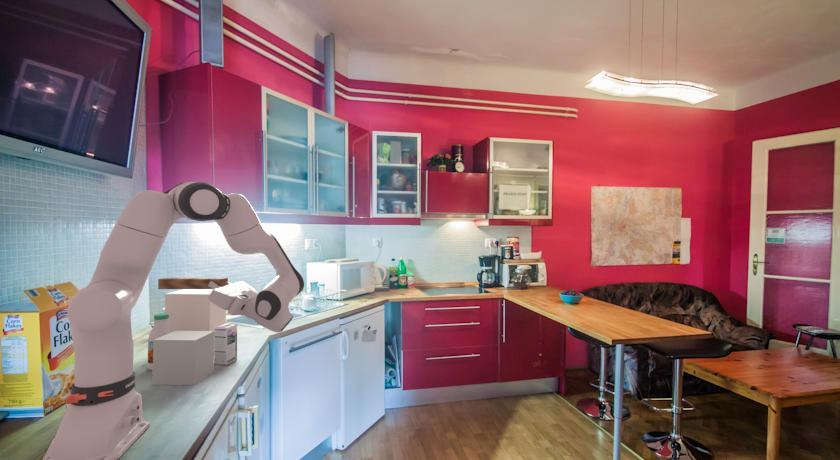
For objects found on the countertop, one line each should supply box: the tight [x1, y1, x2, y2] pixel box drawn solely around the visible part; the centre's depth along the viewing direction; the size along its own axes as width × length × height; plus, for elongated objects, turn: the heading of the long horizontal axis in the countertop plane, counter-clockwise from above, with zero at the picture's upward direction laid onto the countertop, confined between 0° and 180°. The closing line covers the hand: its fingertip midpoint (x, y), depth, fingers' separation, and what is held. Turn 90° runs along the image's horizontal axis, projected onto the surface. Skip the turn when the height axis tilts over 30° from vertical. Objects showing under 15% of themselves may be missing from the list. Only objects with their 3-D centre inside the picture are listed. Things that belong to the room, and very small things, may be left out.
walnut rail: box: [157, 277, 229, 290], centre depth 122 cm, size 22×4×4 cm, turn 91°
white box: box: [164, 289, 227, 332], centre depth 147 cm, size 18×12×26 cm, turn 91°
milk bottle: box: [147, 312, 173, 372], centre depth 131 cm, size 8×8×20 cm
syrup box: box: [214, 323, 238, 366], centre depth 137 cm, size 6×6×14 cm
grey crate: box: [151, 331, 215, 386], centre depth 122 cm, size 14×11×15 cm
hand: (214, 282), depth 122 cm, fingers closed on walnut rail, 3 cm apart
